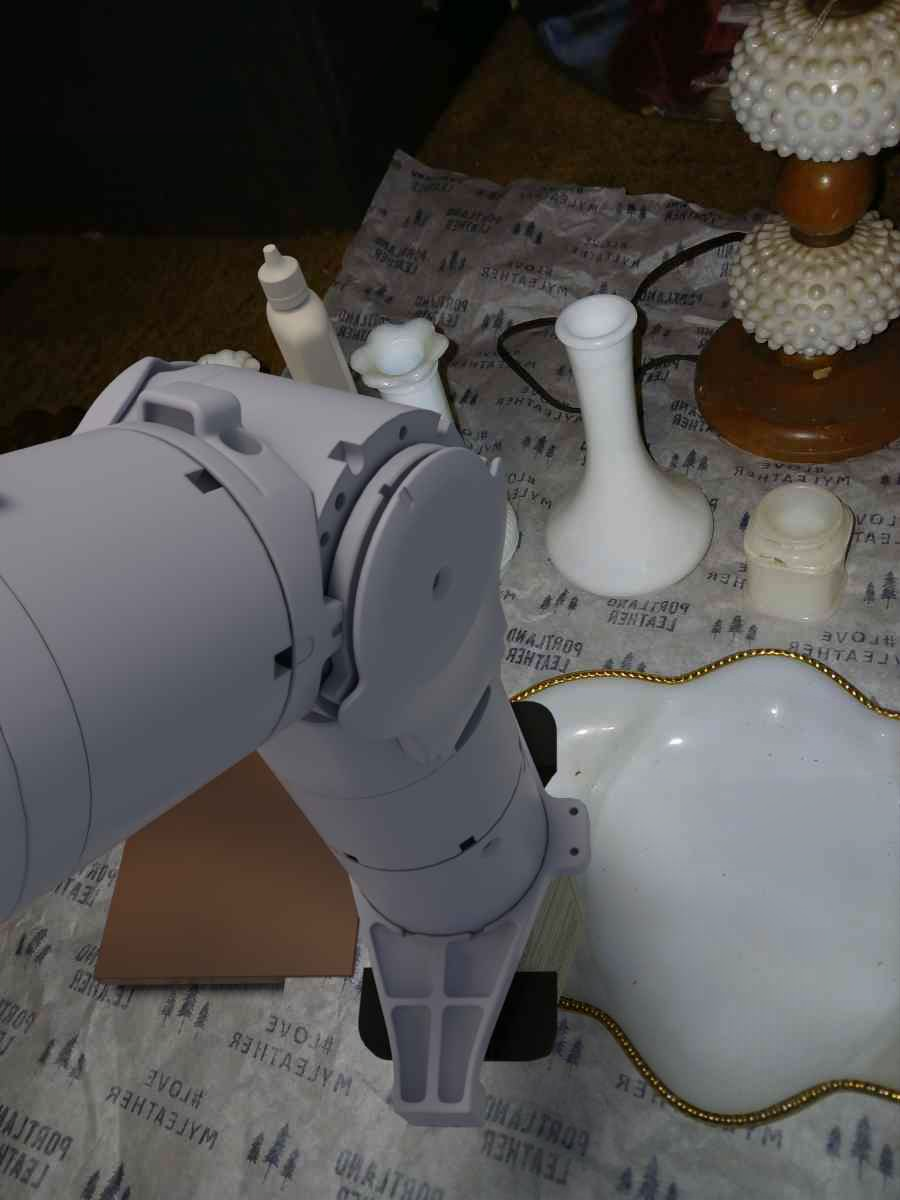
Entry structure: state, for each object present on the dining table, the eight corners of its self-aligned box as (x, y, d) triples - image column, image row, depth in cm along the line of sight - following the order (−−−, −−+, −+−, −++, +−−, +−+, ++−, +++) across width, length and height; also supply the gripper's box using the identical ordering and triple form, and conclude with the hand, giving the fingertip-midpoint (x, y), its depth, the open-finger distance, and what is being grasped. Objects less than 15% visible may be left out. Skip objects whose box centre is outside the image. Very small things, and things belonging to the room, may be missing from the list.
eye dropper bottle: (371, 371, 70) (314, 212, 61) (359, 433, 67) (296, 275, 57) (309, 377, 71) (243, 222, 62) (293, 438, 68) (221, 285, 58)
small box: (485, 879, 41) (440, 788, 35) (590, 914, 40) (563, 824, 34) (434, 1006, 39) (377, 932, 33) (545, 1048, 37) (506, 979, 31)
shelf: (365, 989, 46) (330, 952, 42) (112, 991, 49) (57, 956, 45) (392, 708, 54) (365, 654, 50) (175, 722, 57) (133, 672, 53)
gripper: (571, 1071, 22) (626, 1177, 33) (566, 529, 30) (611, 753, 41) (250, 1068, 23) (403, 1170, 34) (331, 551, 32) (433, 762, 43)
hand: (503, 942), depth 38 cm, fingers closed on small box, 6 cm apart
